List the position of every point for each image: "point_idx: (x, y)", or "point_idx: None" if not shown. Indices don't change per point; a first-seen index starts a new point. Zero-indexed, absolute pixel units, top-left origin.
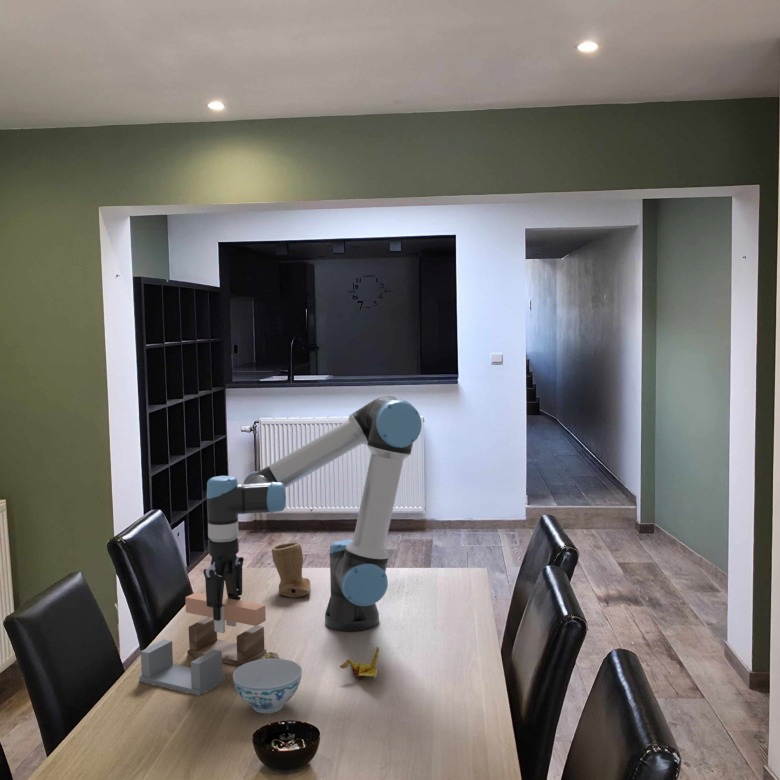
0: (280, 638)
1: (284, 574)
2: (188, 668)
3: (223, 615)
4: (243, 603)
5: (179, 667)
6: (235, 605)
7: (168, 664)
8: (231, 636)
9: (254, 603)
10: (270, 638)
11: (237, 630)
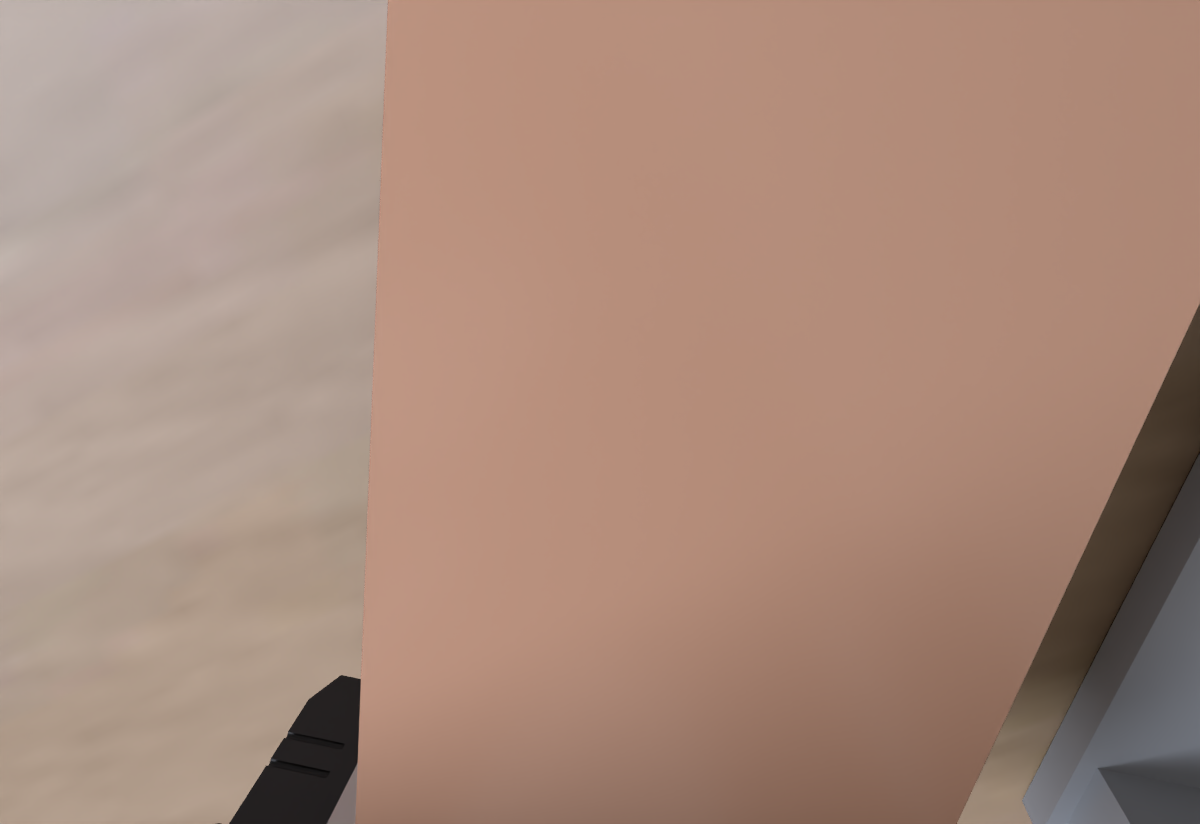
0: (66, 68)
1: None
2: (1182, 617)
3: None
4: (584, 609)
5: (1161, 698)
6: (889, 787)
7: (1172, 802)
8: (262, 574)
9: (427, 148)
10: (123, 186)
11: (127, 579)
